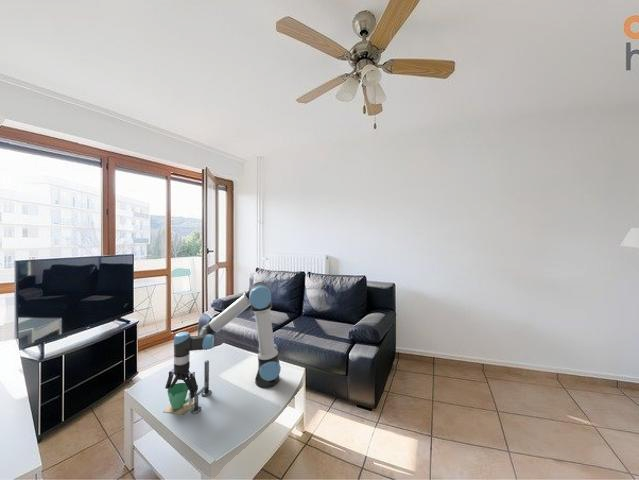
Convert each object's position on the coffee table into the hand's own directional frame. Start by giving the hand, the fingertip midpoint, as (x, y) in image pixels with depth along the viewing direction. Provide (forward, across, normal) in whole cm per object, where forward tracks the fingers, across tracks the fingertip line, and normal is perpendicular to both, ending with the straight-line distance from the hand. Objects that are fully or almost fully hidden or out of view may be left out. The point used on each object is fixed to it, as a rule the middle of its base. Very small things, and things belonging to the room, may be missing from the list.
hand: (181, 402), depth 140 cm
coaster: (+2, 0, 0) cm, 2 cm away
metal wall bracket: (+2, -9, -5) cm, 10 cm away
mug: (+1, -1, 0) cm, 1 cm away
